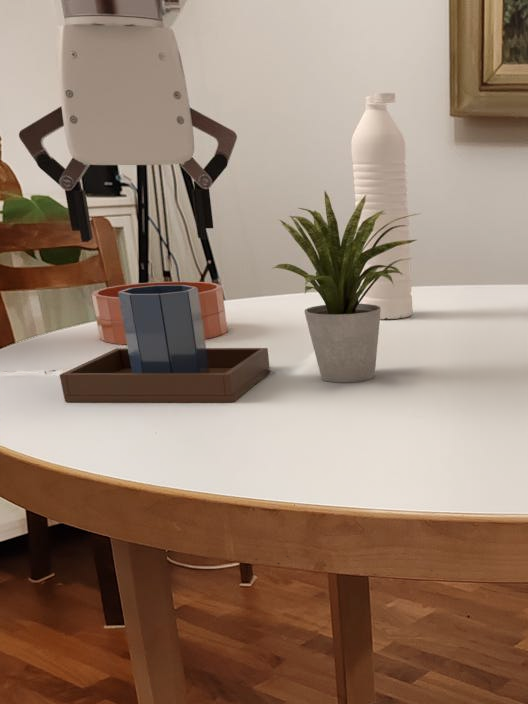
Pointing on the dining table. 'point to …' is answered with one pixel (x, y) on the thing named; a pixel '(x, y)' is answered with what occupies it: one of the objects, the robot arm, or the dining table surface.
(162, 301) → the cup
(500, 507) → the dining table surface
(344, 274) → the house plant
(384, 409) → the dining table surface
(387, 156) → the water bottle
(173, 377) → the tray
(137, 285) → the bowl
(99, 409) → the dining table surface
